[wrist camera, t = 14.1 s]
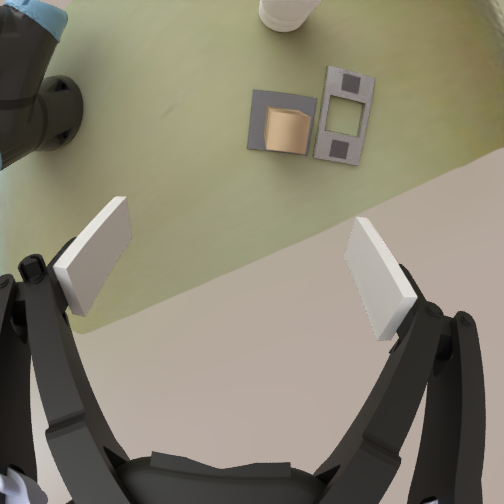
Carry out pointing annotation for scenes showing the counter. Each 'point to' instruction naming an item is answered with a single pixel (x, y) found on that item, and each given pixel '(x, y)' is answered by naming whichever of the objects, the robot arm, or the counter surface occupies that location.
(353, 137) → the plate with rectangular hole
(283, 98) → the mat
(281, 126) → the peg
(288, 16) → the white bottle
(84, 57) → the counter surface
